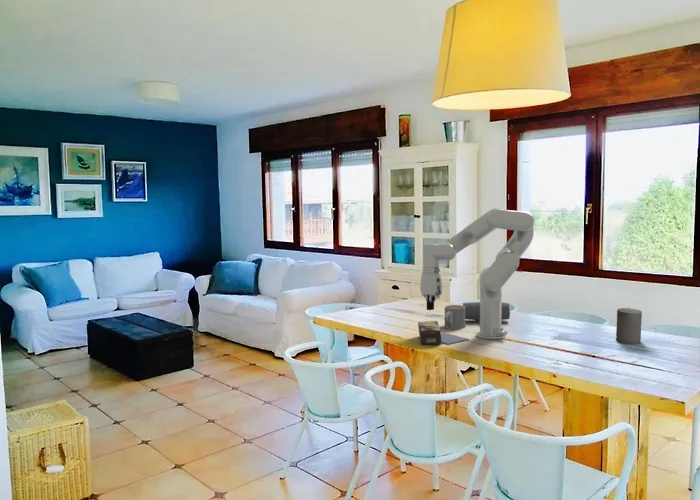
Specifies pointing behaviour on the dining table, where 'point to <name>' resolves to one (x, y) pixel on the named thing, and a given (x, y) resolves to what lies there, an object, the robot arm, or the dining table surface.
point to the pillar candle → (628, 326)
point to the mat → (451, 338)
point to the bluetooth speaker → (474, 311)
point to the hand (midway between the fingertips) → (430, 309)
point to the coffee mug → (454, 316)
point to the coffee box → (429, 332)
